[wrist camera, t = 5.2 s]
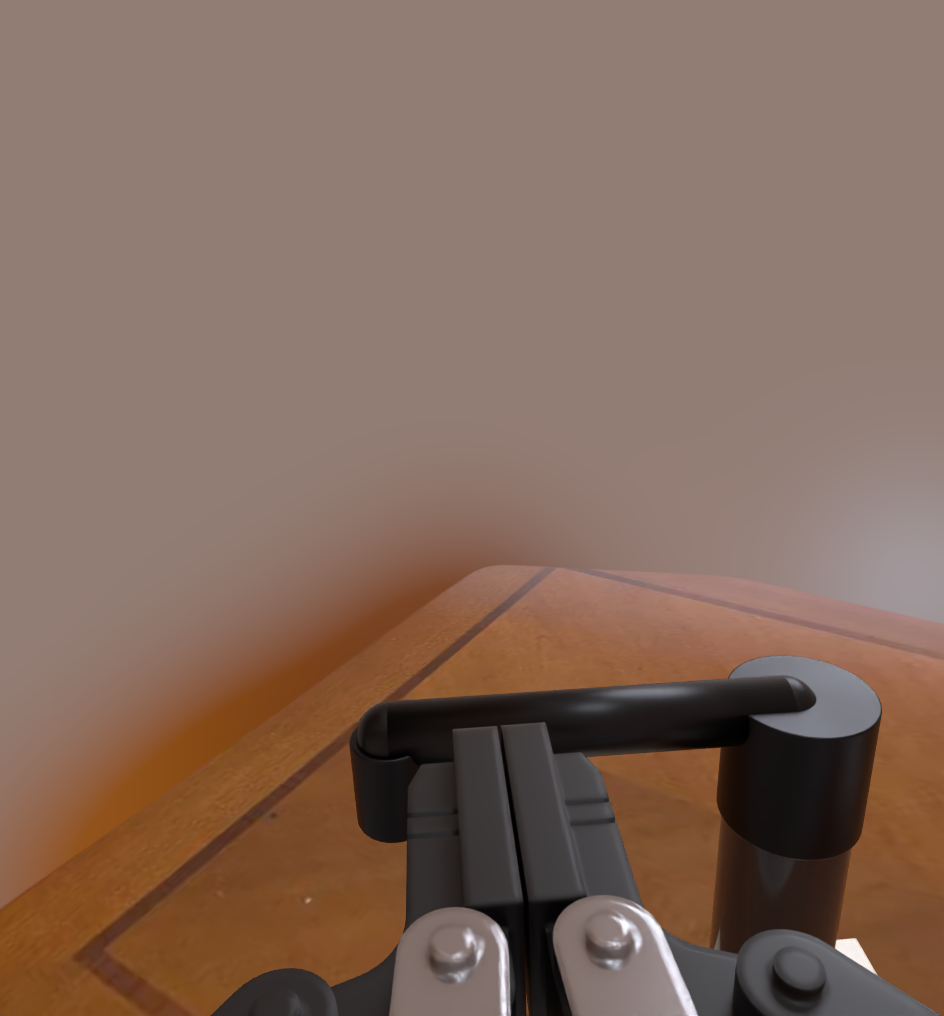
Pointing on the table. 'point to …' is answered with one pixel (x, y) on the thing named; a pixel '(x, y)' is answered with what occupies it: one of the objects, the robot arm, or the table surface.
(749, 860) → the base
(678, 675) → the table surface
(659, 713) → the spout
